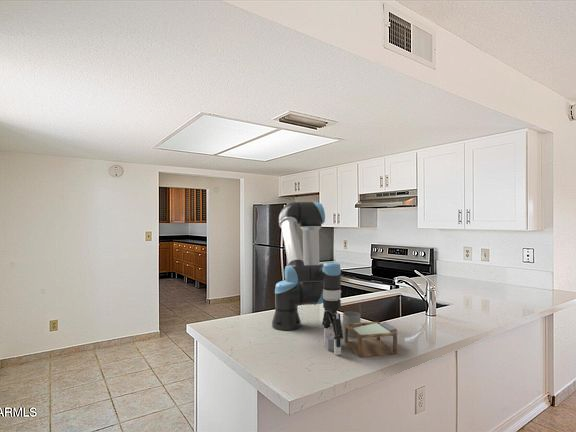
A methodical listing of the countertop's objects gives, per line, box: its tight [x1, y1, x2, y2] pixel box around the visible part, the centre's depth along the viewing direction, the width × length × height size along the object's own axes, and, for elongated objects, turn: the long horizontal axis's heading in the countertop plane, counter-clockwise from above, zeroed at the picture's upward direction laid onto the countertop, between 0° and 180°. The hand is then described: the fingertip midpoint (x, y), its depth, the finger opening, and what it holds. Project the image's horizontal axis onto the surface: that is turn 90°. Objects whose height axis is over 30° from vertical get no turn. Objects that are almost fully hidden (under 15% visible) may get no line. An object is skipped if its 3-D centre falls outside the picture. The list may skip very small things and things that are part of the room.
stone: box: [324, 334, 335, 352], centre depth 152 cm, size 5×5×5 cm
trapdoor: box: [353, 321, 398, 341], centre depth 152 cm, size 16×13×2 cm
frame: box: [344, 321, 398, 358], centre depth 152 cm, size 17×17×8 cm
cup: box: [342, 311, 362, 339], centre depth 169 cm, size 8×8×10 cm
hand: (332, 348), depth 151 cm, fingers open, 13 cm apart
